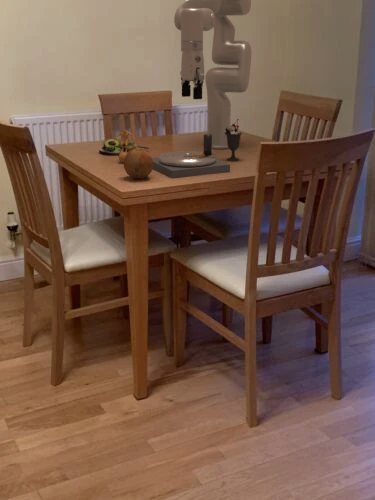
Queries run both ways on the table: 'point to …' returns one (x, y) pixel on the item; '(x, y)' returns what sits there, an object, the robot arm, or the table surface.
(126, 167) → the onion
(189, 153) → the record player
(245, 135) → the table surface
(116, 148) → the avocado toast plate
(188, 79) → the robot arm
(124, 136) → the figurine
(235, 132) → the sundae
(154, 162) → the instrument base
